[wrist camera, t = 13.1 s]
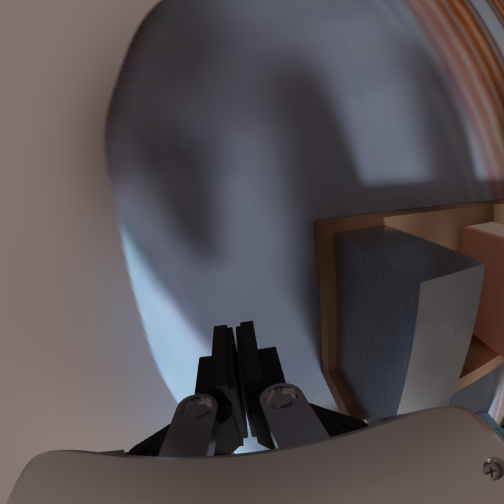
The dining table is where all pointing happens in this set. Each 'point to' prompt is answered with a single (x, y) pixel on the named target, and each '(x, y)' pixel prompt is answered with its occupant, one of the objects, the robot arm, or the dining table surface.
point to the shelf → (416, 223)
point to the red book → (488, 280)
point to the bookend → (402, 318)
